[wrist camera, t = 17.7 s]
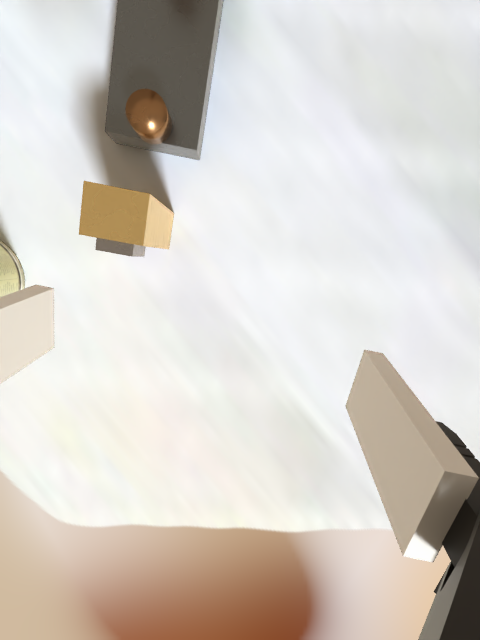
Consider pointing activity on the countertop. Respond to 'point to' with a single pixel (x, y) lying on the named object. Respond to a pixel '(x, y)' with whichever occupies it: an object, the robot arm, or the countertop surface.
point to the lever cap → (124, 219)
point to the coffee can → (10, 272)
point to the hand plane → (162, 74)
